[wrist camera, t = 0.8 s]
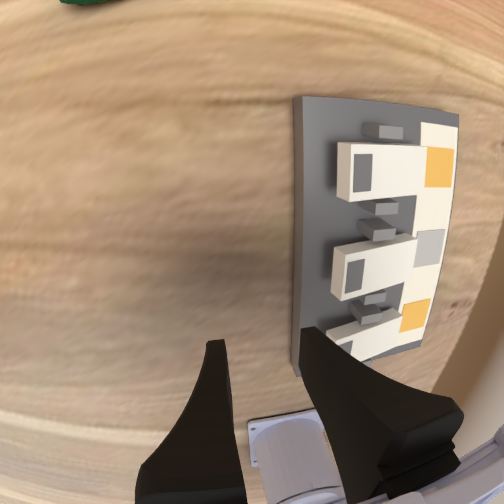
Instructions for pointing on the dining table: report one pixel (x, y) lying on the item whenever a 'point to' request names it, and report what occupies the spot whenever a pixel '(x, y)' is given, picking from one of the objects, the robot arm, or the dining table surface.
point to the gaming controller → (81, 1)
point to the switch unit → (367, 213)
